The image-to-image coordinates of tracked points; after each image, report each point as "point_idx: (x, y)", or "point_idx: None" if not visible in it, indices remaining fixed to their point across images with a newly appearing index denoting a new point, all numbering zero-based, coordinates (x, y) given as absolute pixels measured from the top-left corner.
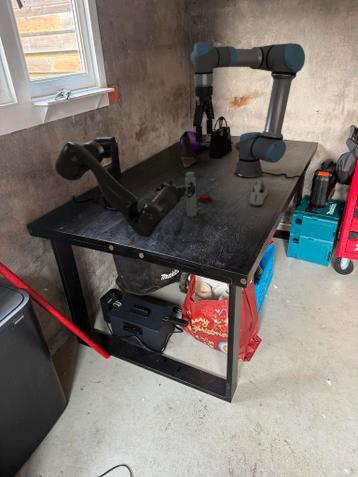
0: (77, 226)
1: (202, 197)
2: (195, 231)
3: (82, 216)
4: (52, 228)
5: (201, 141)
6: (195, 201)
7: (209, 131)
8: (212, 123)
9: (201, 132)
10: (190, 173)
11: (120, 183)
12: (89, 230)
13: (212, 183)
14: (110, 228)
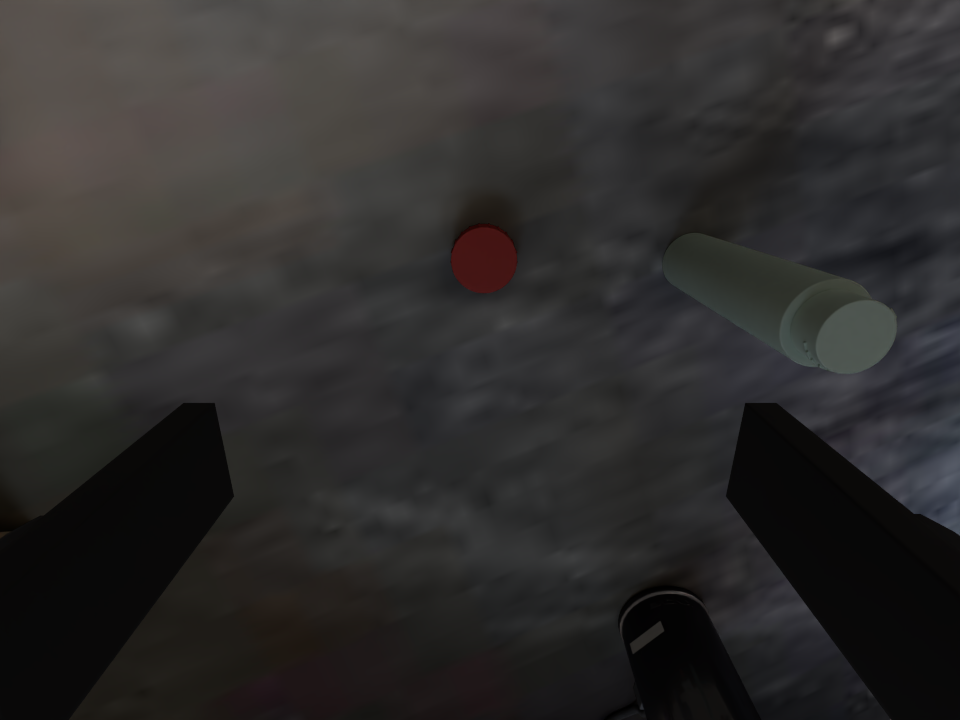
0: None
1: (510, 267)
2: (890, 164)
3: (775, 679)
4: (884, 711)
5: (779, 414)
6: (741, 246)
7: (195, 479)
8: (17, 541)
9: (901, 511)
10: (866, 330)
11: (722, 703)
12: None
13: (206, 301)
14: None
